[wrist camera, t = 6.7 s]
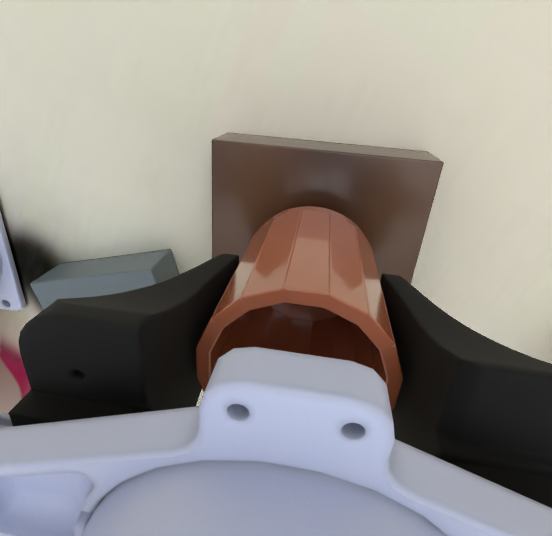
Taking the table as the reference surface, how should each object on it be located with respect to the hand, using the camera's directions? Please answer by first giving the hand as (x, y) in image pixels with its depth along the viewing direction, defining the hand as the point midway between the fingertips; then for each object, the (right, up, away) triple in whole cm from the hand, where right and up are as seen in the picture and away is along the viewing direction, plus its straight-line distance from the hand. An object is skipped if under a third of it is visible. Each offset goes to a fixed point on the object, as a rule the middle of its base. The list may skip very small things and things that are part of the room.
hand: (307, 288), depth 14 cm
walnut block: (+1, +2, +5) cm, 5 cm away
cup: (0, +1, +1) cm, 2 cm away
